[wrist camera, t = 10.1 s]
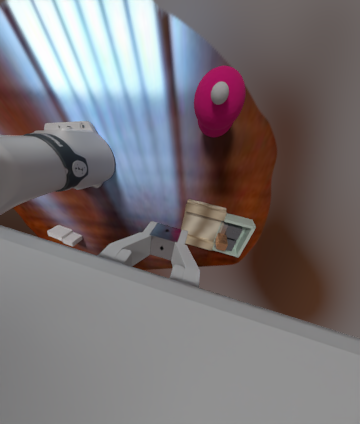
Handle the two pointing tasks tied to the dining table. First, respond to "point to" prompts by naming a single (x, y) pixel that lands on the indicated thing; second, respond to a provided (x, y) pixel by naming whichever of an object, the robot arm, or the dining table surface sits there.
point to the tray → (244, 236)
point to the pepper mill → (219, 100)
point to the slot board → (202, 223)
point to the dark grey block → (233, 231)
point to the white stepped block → (65, 235)
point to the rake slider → (221, 237)
